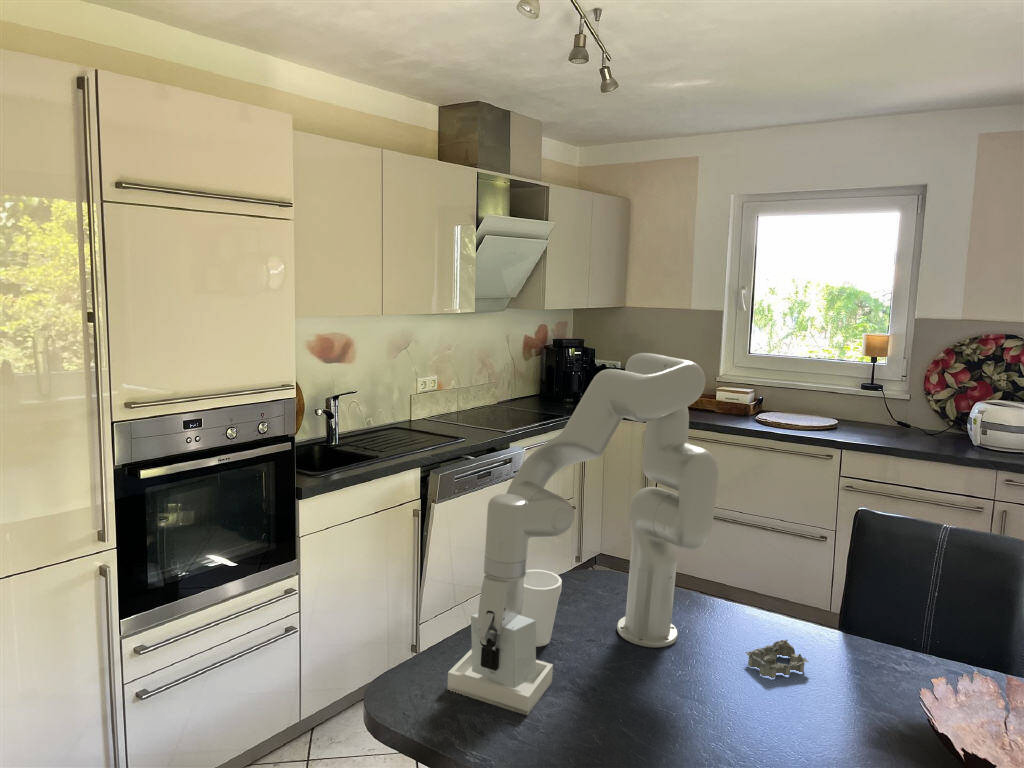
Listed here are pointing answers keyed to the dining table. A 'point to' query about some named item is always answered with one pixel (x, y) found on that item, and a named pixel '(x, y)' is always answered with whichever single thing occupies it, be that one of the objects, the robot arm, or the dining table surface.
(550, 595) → the foam cup
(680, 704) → the dining table surface
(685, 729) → the dining table surface
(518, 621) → the skincare box
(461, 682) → the trough
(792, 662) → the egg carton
